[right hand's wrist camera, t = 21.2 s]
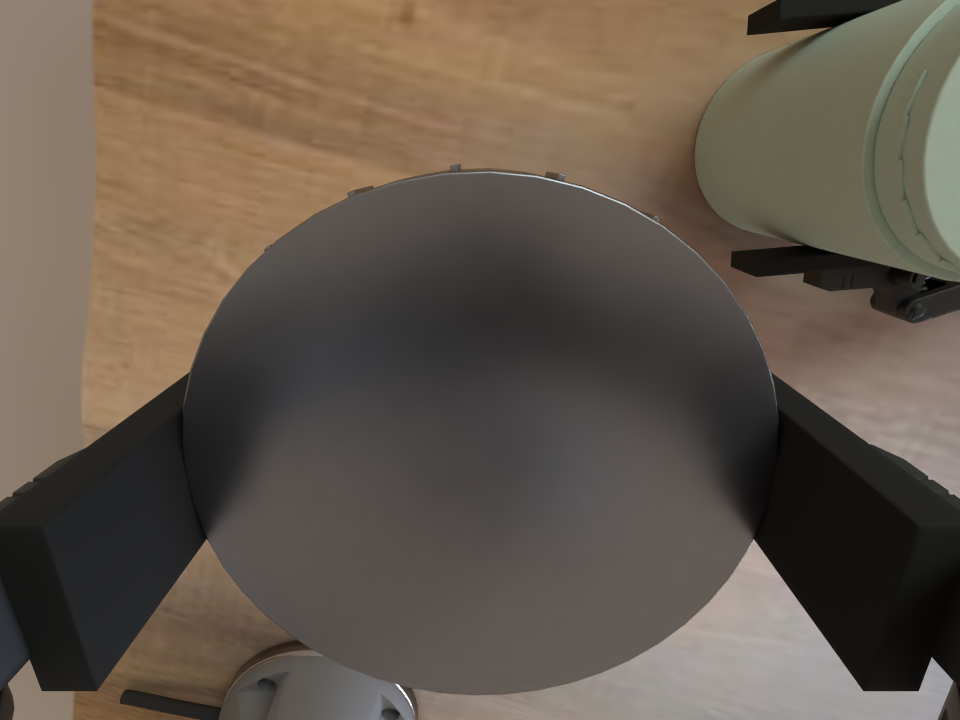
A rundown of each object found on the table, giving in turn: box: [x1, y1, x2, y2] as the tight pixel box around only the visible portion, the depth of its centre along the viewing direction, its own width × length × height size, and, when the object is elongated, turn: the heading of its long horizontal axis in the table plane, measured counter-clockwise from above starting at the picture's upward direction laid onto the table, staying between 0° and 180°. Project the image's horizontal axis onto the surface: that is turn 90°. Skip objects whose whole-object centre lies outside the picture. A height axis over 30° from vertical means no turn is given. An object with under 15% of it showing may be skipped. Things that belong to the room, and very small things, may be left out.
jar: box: [695, 0, 960, 282], centre depth 22 cm, size 10×10×16 cm
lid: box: [182, 164, 779, 695], centre depth 11 cm, size 11×11×2 cm
